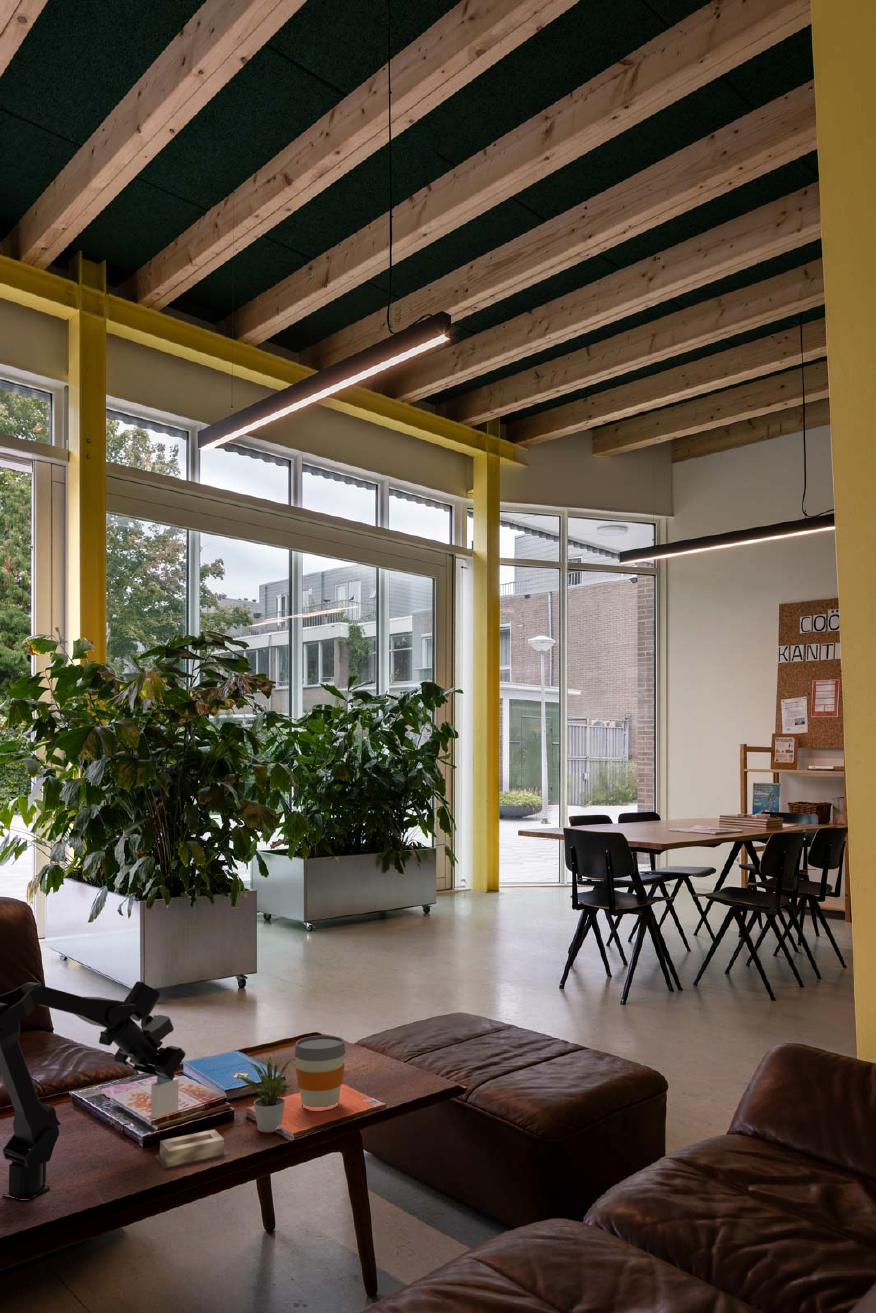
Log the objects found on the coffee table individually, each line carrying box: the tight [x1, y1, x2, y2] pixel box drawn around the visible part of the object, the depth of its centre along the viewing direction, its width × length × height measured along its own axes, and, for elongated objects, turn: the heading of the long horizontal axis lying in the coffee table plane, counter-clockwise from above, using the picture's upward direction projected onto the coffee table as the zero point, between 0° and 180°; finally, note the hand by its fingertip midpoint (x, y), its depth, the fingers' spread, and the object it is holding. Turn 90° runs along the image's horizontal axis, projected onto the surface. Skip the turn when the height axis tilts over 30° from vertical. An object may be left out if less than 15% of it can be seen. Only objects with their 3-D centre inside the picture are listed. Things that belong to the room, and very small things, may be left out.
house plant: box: [236, 1053, 300, 1133], centre depth 225 cm, size 14×14×16 cm
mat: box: [154, 1147, 230, 1170], centre depth 208 cm, size 14×8×1 cm, turn 120°
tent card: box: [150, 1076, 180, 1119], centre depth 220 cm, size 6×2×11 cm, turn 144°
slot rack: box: [159, 1129, 225, 1168], centre depth 208 cm, size 12×7×3 cm, turn 120°
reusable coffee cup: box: [294, 1035, 346, 1107], centre depth 239 cm, size 13×13×15 cm
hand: (170, 1076), depth 221 cm, fingers closed on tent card, 2 cm apart
